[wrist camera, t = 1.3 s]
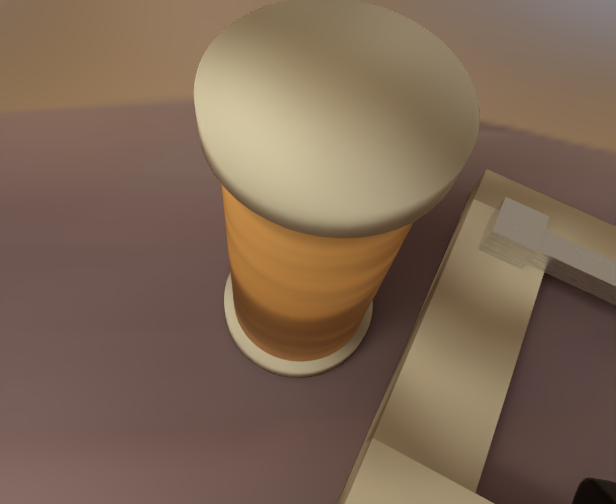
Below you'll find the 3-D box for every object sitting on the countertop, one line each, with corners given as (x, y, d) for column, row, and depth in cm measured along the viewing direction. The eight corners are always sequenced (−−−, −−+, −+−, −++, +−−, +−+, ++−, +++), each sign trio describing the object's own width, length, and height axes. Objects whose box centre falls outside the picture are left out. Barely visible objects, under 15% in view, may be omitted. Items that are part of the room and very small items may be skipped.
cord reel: (330, 405, 21) (420, 266, 10) (196, 333, 22) (132, 128, 10) (389, 281, 24) (513, 60, 12) (269, 222, 25) (281, -35, 13)
